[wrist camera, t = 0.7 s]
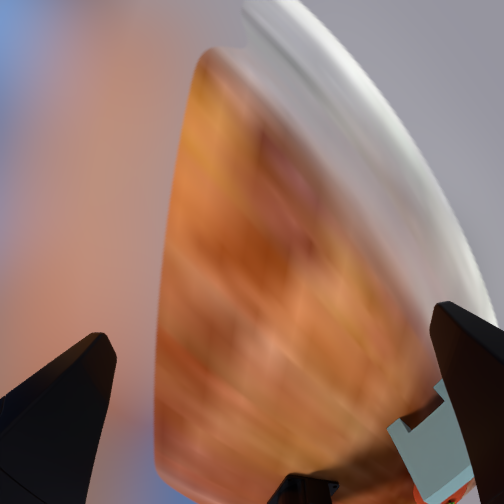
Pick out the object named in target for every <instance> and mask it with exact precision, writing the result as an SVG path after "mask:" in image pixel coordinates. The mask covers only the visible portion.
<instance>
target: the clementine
mask: <svg viewBox="0 0 504 504" xmlns="http://www.w3.org/2000/svg"><path fill="white" fill-rule="evenodd" d="M467 485H468V482H467V483H466V484H465V485H464V486H462V487H461V488H460V489H459V490H457V491H456V492H455V493H453V494H452V495H451V496H449V497H448V498H447V499H445V500H444V501H443V502H441V503H440V504H456V503H457V502H458V501H459V500H460V499H461V498H462V496H463V495H464V493H465V491H466V488H467ZM413 494H414V498H415V501H416V503H417V504H428V503H426V502H424V501H423V499H422V497H421V495H420V493H419V491H418V489H417V487H416V485H415V484H414V491H413Z"/></svg>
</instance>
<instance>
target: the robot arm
mask: <svg viewBox="0 0 504 504" xmlns="http://www.w3.org/2000/svg"><path fill="white" fill-rule="evenodd" d="M430 337H431V340H432V343H433V347H434V350H435V354H436V357H437V361H438V364H439V368H440V372H441V375H442V379H443V382H444V385H445V388H446V390H447V393H448V396H449V398H450V401H451V404H452V407H453V409H454V412H455V415H456V418H457V421H458V424H459V427H460V430H461V433H462V436H463V439H464V443H465V446H466V449H467V452H468V456H469V459H470V463H471V466H472V470H473V474H474V477H475V481H476V485H477V489H478V493H479V498H480V502H481V504H504V331H503V330H501V329H499V328H497V327H496V326H494V325H492V324H490V323H489V322H487V321H485V320H483V319H481V318H480V317H478V316H476V315H474V314H473V313H471V312H469V311H467V310H465V309H463V308H462V307H460V306H458V305H456V304H454V303H453V302H451V301H445V302H440V303H437V304H436V305H435V307H434V310H433V315H432V319H431V324H430ZM116 363H117V356H116V353H115V351H114V349H113V347H112V345H111V343H110V341H109V339H108V337H107V335H106V334H105V333H101V332H100V333H98V332H95V333H91V334H89V335H88V336H86V337H85V338H83V339H82V340H81V341H79V342H78V343H76V344H75V345H74V346H72V347H71V348H69V349H68V350H67V351H65V352H64V353H62V354H61V355H60V356H58V357H57V358H55V359H54V360H53V361H51V362H50V363H48V364H47V365H46V366H44V367H43V368H42V369H40V370H39V371H37V372H36V373H35V374H33V375H32V376H31V377H29V378H28V379H26V380H25V381H24V382H22V383H21V384H20V385H18V386H17V387H16V388H14V389H13V390H11V391H10V392H9V393H8V394H6V396H3V397H2V398H1V399H0V504H85V503H86V497H87V492H88V487H89V483H90V478H91V474H92V469H93V464H94V460H95V456H96V452H97V448H98V444H99V440H100V436H101V432H102V428H103V424H104V421H105V417H106V413H107V410H108V405H109V400H110V395H111V389H112V383H113V378H114V373H115V368H116ZM338 488H339V483H338V482H334V481H326V480H319V479H313V478H307V477H301V476H295V475H287V476H286V477H285V479H284V480H283V481H282V483H281V484H280V486H279V487H278V489H277V490H276V491H275V493H274V494H273V495H272V497H271V498H270V500H269V501H268V502H267V504H332V499H331V496H332V495H333V494H334V493H335V491H336V490H337V489H338Z"/></svg>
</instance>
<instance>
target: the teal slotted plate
mask: <svg viewBox="0 0 504 504" xmlns="http://www.w3.org/2000/svg"><path fill="white" fill-rule="evenodd" d="M433 388H434V389H435V390H436V392H437V393H438V394H439V395H440V396H441V397H442V399H443V400H444V402H443V403H442V404H441V405H440V406H439V407H438V408H437V409H436V410H435V411H434V412H433V413H432V414H430V415H429V416H428V417H427V418H426V419H425V420H424V421H423V422H421V423H420V424H419V425H418V426H417V427H416V428H414V429H413V430H411V429H410V427H409V426H407V425H406V424H405V423H404V422H403V421H402V420H401V419H400V418H399V419H397V420H396V421H395V422H394V423H393V424H391V425H390V426H389V427H388V428H387V430H388V432H389V434H390V436H391V438H392V440H393V442H394V444H395V446H396V448H397V450H398V451H399V453H400V455H401V457H402V459H403V461H404V463H405V465H406V467H407V469H408V471H409V473H410V475H411V477H412V479H413V481H414V483H415V485H416V487H417V489H418V491H419V493H420V495H421V497H422V499H423V501H424V502H426V503H428V504H440V503H441V502H443V501H444V500H445V499H447V498H448V497H449V496H451V495H452V494H453V493H455V492H456V491H457V490H459V489H460V488H461V487H462V486H464V485H465V484H466V483H467V482H468V481H470V480H471V479H472V478H473V477H474V474H473V470H472V466H471V463H470V459H469V456H468V452H467V449H466V446H465V443H464V439H463V436H462V433H461V430H460V427H459V424H458V421H457V418H456V415H455V412H454V409H453V407H452V404H451V401H450V398H449V396H448V393H447V390H446V388H445V385H444V382H443V379H441V380H440V381H439V382H438V383H437V384H436V385H435V386H434V387H433Z"/></svg>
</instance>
